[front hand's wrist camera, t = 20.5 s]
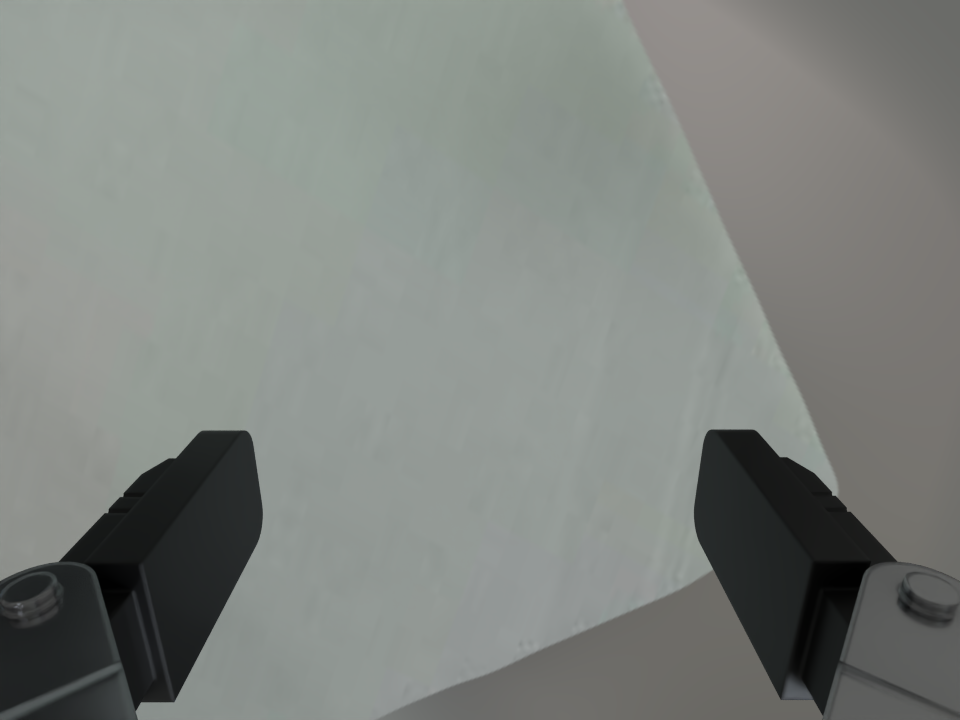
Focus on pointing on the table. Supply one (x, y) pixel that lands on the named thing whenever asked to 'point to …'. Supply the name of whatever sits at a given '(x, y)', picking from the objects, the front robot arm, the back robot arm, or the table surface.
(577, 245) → the table surface
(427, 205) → the table surface
